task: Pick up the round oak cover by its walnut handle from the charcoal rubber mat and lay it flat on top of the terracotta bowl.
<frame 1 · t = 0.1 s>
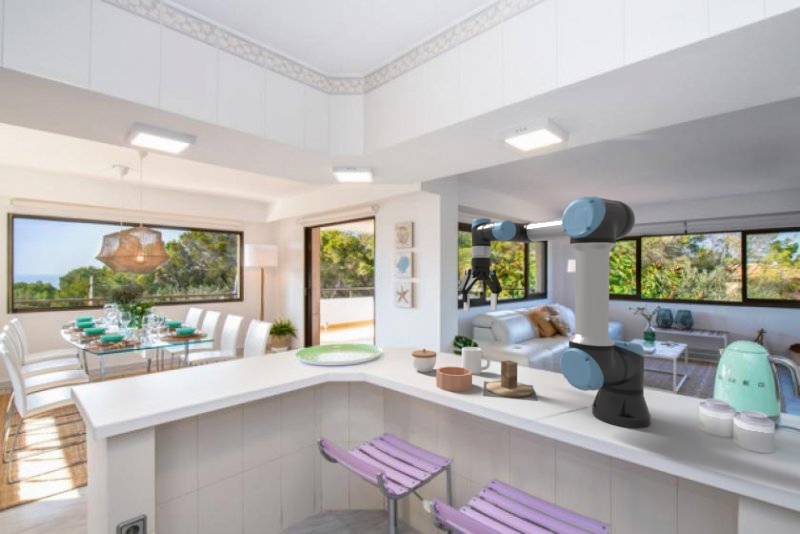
hand: (480, 310, 151), 28 cm above the worktop, tool pointing down, fingers open, 13 cm apart
lidded jar: (423, 370, 164), on the worktop
mug: (475, 373, 161), on the worktop
bowl: (453, 386, 141), on the worktop
cover: (508, 390, 136), resting on mat
mat: (508, 391, 136), on the worktop
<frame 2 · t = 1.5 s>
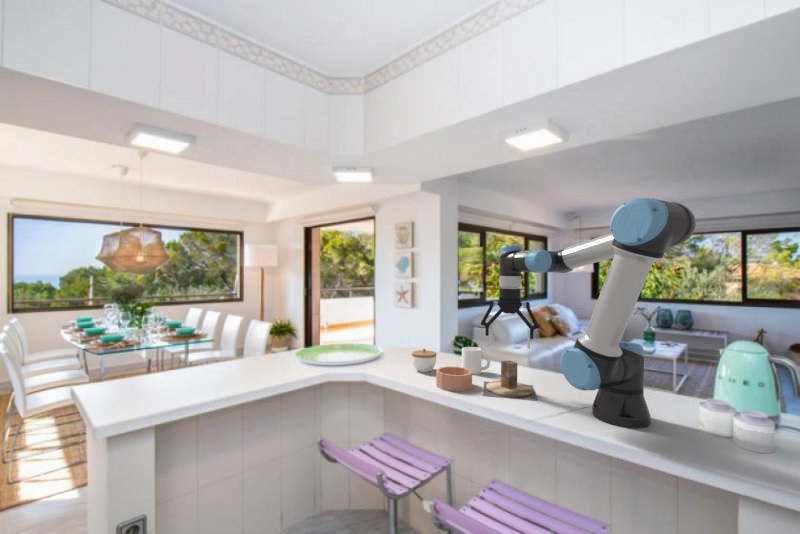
hand: (508, 346, 137), 16 cm above the worktop, tool pointing down, fingers open, 13 cm apart
nothing on the worktop moved.
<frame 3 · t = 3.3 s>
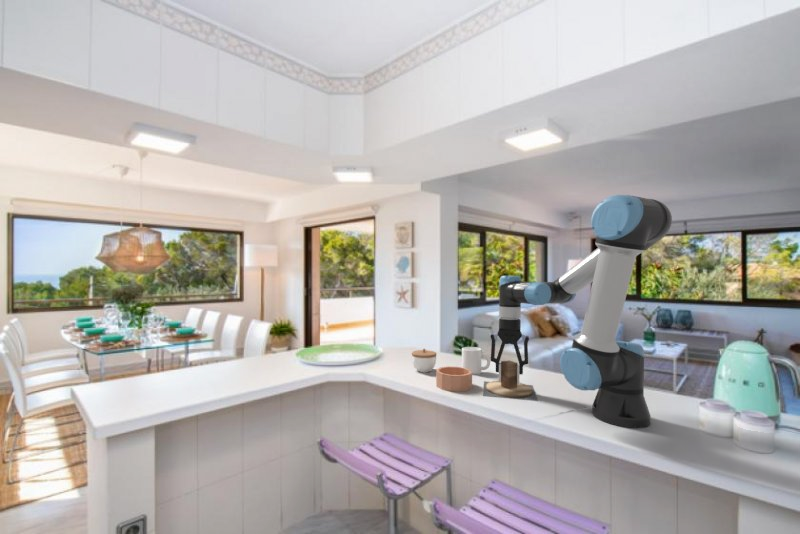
hand: (509, 382, 136), 3 cm above the worktop, tool pointing down, fingers closed on cover, 6 cm apart
cover: (508, 390, 136), point 1 cm above the worktop, touching gripper, mat
everything else where it was.
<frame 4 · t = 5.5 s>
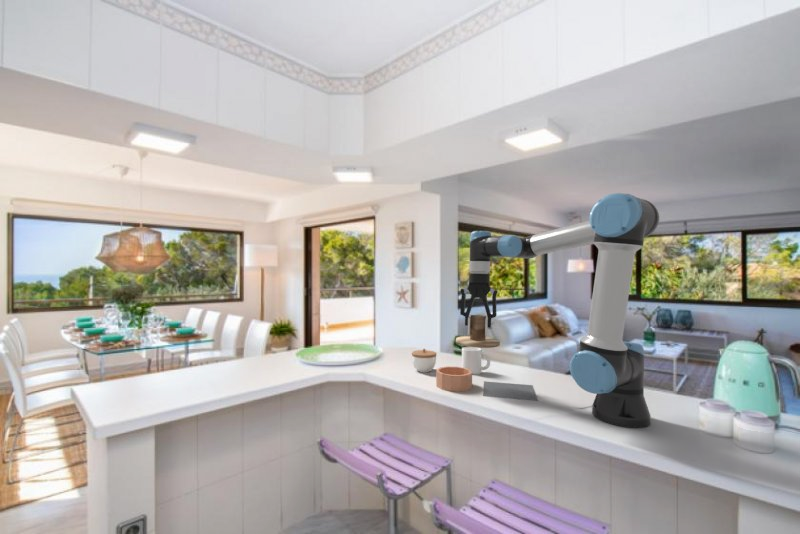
hand: (477, 335, 140), 20 cm above the worktop, tool pointing down, fingers closed on cover, 6 cm apart
cover: (477, 343, 140), point 17 cm above the worktop, touching gripper
everything else where it was.
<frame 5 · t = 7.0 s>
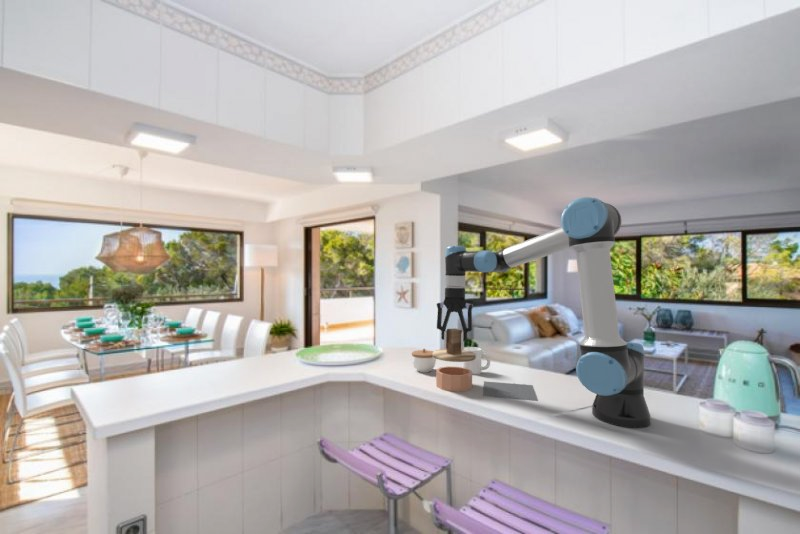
hand: (454, 348, 141), 14 cm above the worktop, tool pointing down, fingers closed on cover, 6 cm apart
cover: (453, 356, 141), point 11 cm above the worktop, touching gripper
everything else where it was.
when the fingers open (10 cm above the worktop, at t = 8.0 s): cover drops 1 cm, resting on bowl.
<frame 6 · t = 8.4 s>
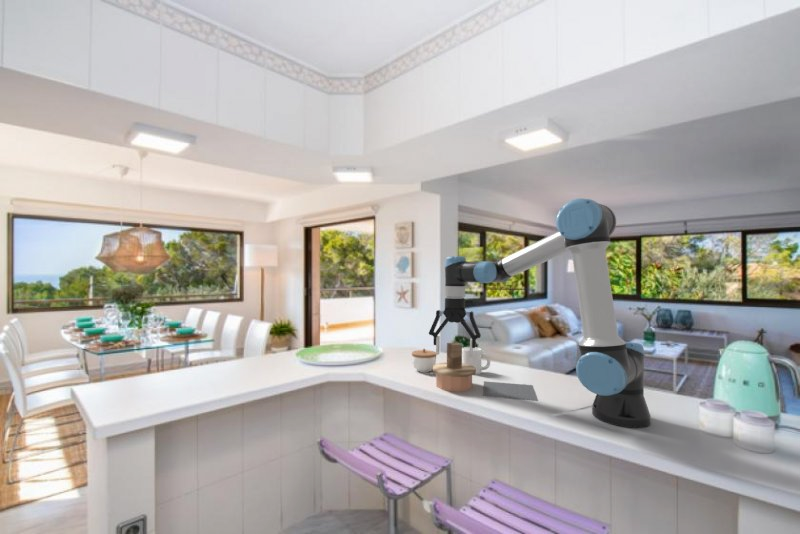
hand: (454, 355, 141), 12 cm above the worktop, tool pointing down, fingers open, 12 cm apart
bowl: (453, 386, 141), on the worktop, touching cover
cover: (454, 370, 141), point 6 cm above the worktop, touching bowl
everything else where it was.
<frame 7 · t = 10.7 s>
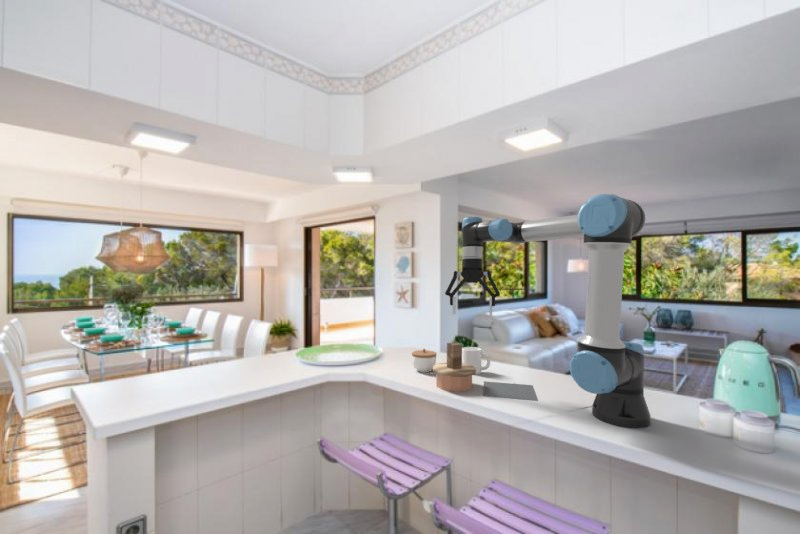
hand: (472, 314, 142), 27 cm above the worktop, tool pointing down, fingers open, 13 cm apart
nothing on the worktop moved.
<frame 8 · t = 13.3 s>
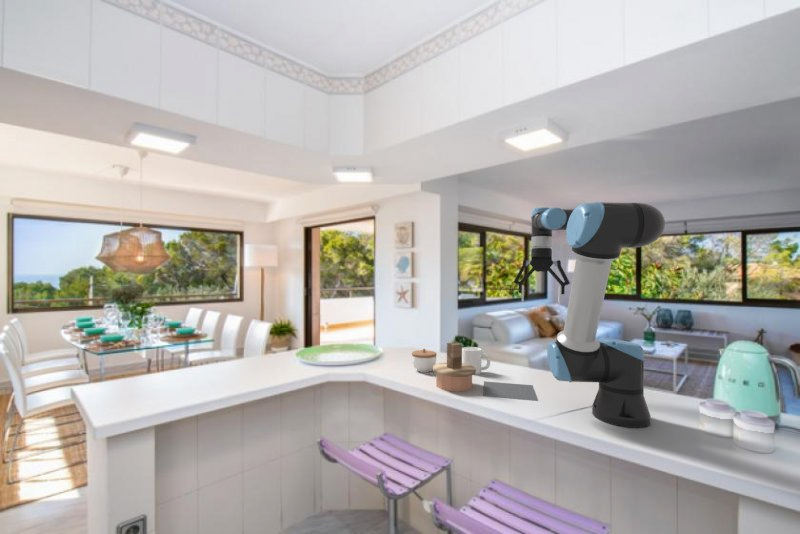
hand: (540, 302, 147), 32 cm above the worktop, tool pointing down, fingers open, 13 cm apart
nothing on the worktop moved.
at the end: cover 0.1 cm off-centre on the bowl, point 6.0 cm above the bowl's base; cover tilted 0°; bowl moved 0.0 cm from its start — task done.
